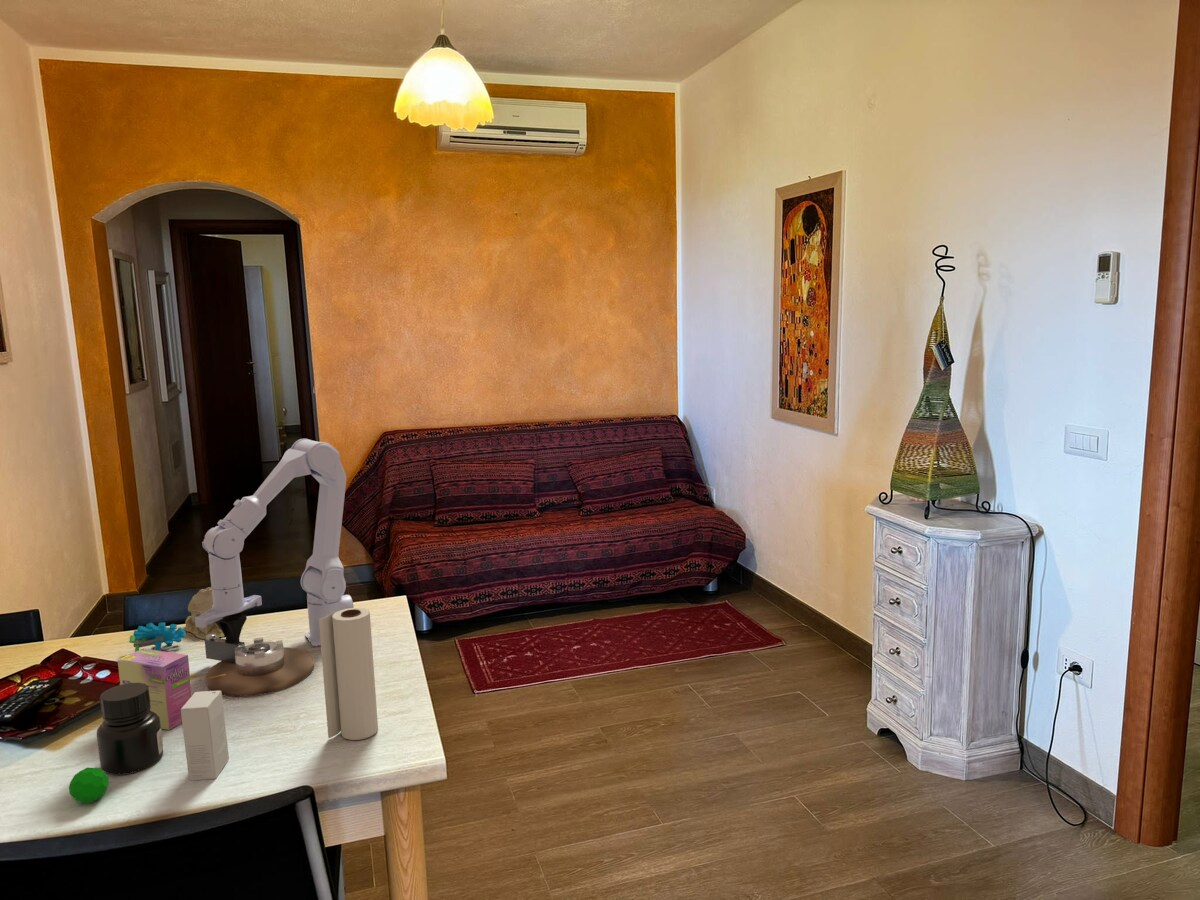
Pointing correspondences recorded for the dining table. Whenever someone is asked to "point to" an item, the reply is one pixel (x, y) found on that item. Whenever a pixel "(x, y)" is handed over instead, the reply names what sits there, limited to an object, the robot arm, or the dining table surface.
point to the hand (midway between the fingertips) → (233, 649)
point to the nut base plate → (261, 676)
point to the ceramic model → (197, 608)
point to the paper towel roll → (349, 673)
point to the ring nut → (246, 654)
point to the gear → (156, 635)
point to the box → (160, 681)
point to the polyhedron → (88, 785)
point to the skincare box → (205, 735)
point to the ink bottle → (128, 730)
